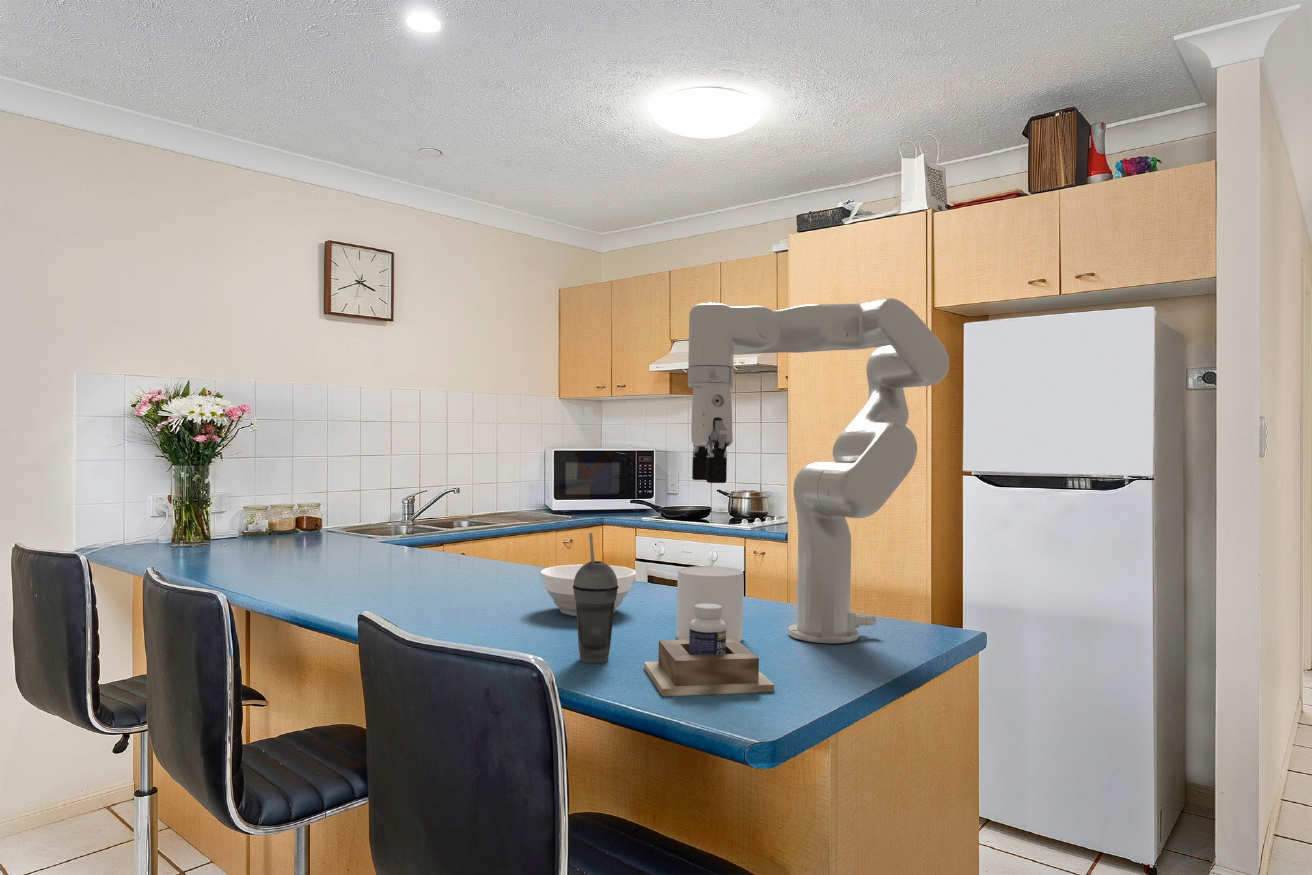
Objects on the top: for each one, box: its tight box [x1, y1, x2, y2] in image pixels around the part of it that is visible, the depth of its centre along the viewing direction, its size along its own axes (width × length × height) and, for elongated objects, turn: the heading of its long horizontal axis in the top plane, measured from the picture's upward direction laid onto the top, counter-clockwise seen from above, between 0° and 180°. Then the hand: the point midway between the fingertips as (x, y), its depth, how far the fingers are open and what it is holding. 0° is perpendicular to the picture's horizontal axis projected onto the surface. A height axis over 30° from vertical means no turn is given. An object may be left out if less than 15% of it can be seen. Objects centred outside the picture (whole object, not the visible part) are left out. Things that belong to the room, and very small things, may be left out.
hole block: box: [643, 638, 775, 697], centre depth 120 cm, size 16×14×4 cm
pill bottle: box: [689, 604, 726, 655], centre depth 121 cm, size 5×5×10 cm
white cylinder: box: [676, 565, 744, 643], centre depth 146 cm, size 12×12×12 cm
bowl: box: [540, 563, 637, 617], centre depth 167 cm, size 20×20×8 cm
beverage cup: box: [573, 532, 619, 664], centre depth 130 cm, size 7×7×20 cm
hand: (708, 481), depth 137 cm, fingers open, 9 cm apart
